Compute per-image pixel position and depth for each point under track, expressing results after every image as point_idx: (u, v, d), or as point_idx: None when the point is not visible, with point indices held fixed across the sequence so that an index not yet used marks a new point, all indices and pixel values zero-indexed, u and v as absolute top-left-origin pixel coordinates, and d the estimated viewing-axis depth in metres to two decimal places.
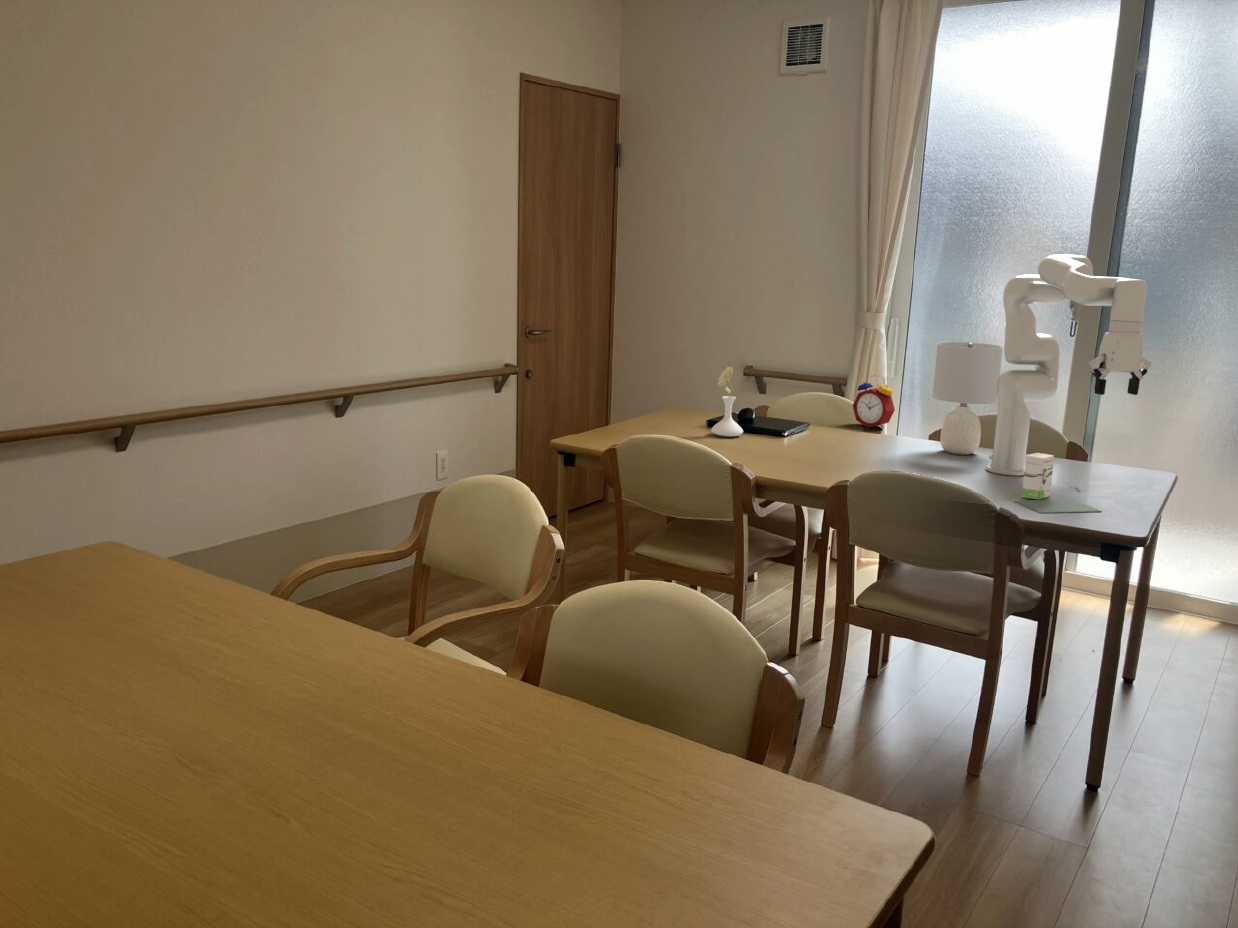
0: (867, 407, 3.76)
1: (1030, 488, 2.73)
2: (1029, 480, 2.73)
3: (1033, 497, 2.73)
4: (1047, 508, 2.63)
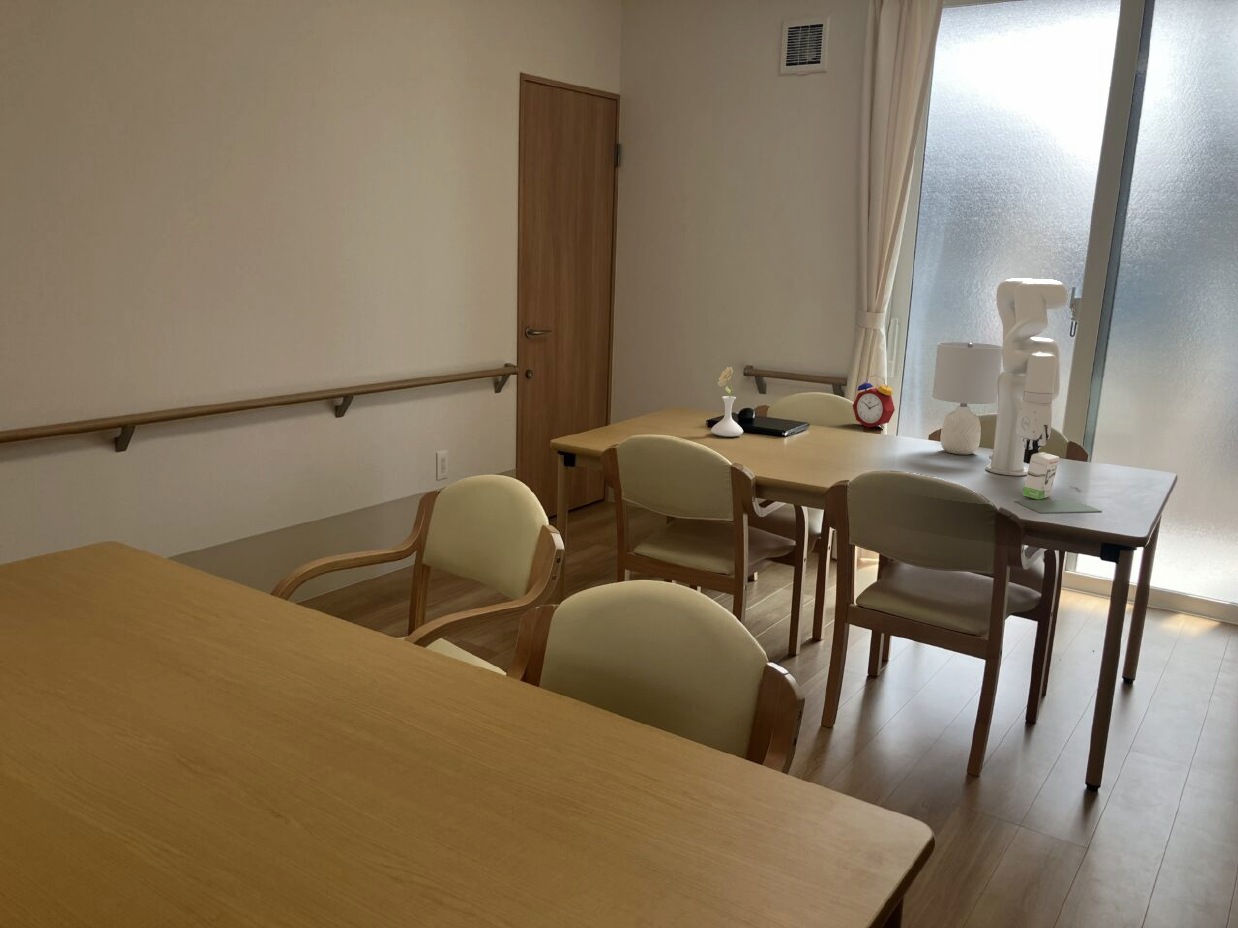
0: (867, 407, 3.76)
1: (1032, 487, 2.72)
2: (1032, 479, 2.72)
3: (1033, 496, 2.72)
4: (1047, 508, 2.63)
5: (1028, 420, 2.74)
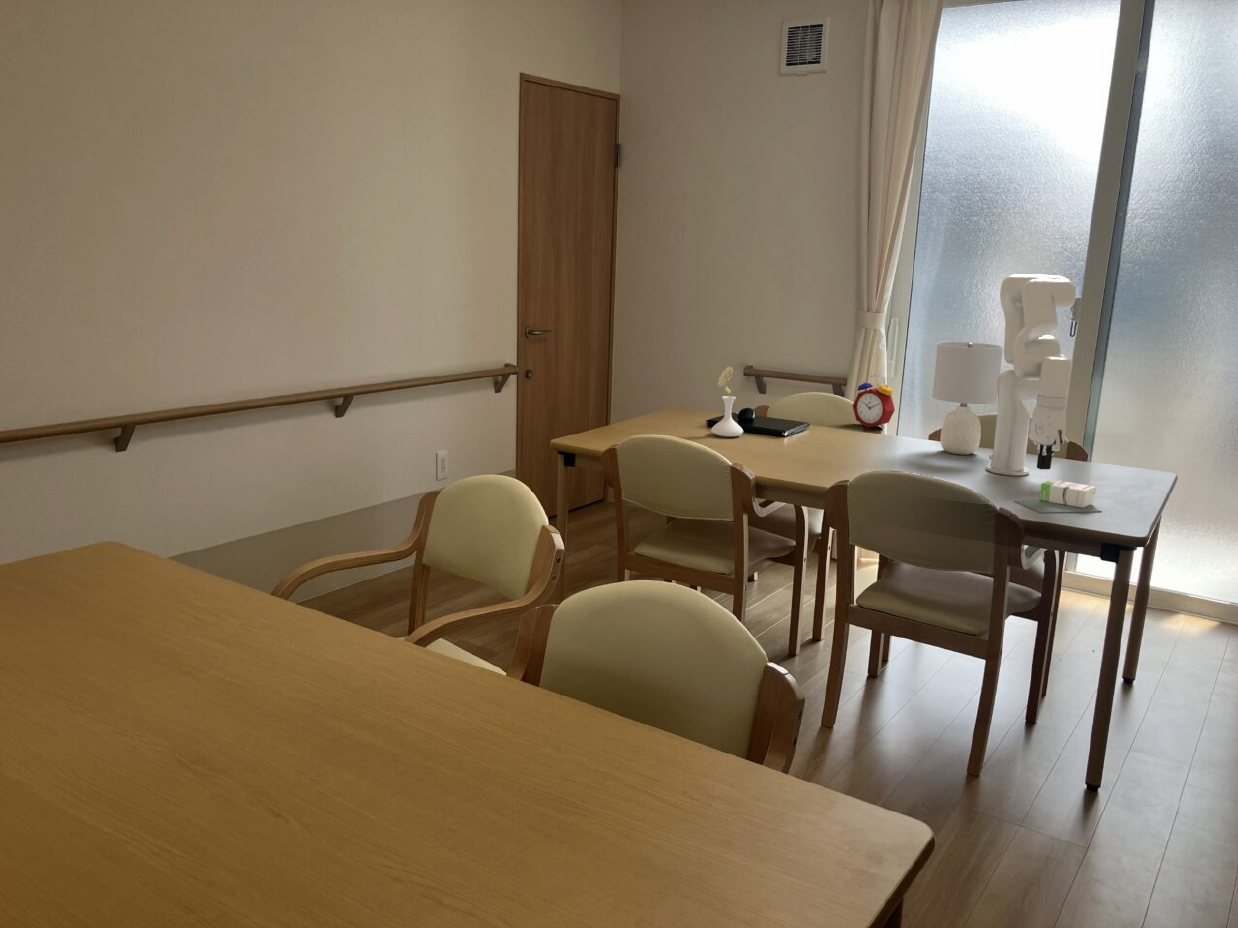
0: (867, 407, 3.76)
1: (1050, 493, 2.69)
2: (1059, 493, 2.68)
3: (1041, 495, 2.71)
4: (1047, 508, 2.63)
5: (1042, 425, 2.68)
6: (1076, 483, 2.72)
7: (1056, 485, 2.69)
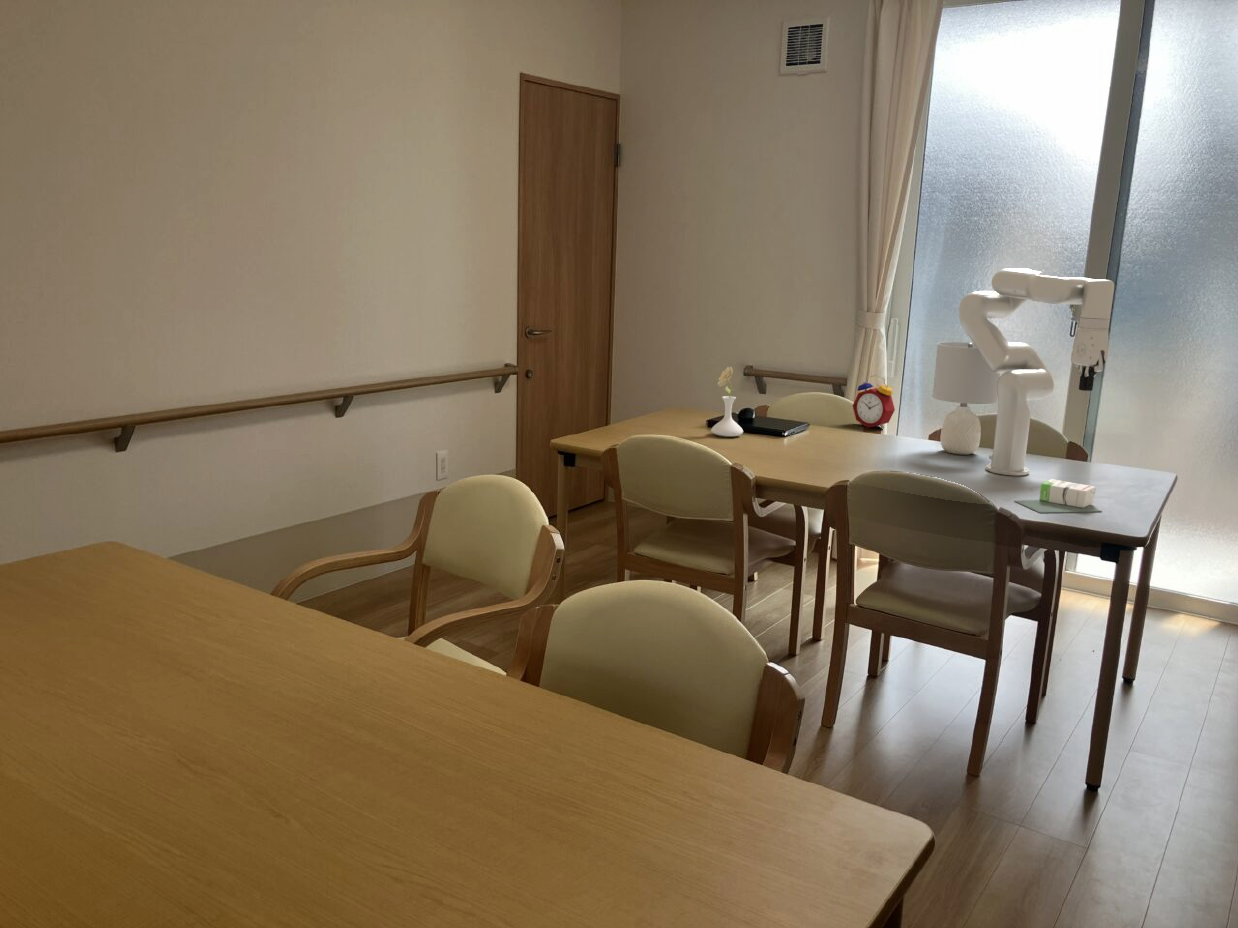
0: (867, 407, 3.76)
1: (1050, 493, 2.69)
2: (1059, 493, 2.68)
3: (1041, 495, 2.71)
4: (1047, 508, 2.63)
5: (1084, 346, 2.75)
6: (1076, 483, 2.72)
7: (1056, 485, 2.69)
